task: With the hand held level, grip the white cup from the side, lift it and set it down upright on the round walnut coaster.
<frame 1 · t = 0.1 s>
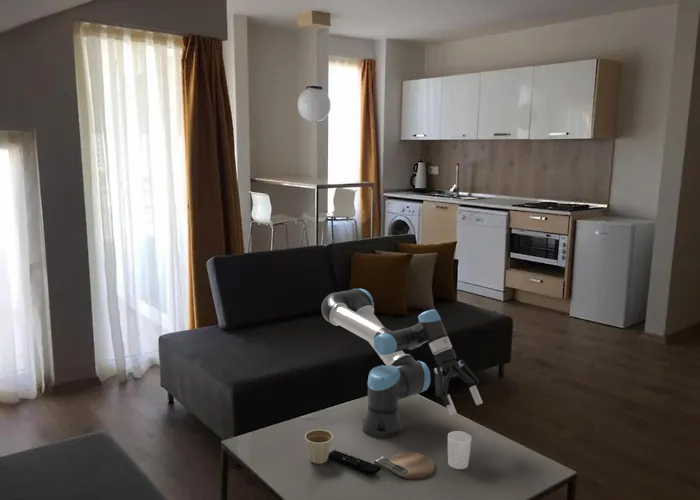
hand: (466, 409, 208), 15 cm above the table, tool tilted 35°, fingers open, 13 cm apart
walnut coaster: (411, 467, 199), on the table
white cup: (458, 464, 201), on the table
flower pot: (318, 460, 203), on the table
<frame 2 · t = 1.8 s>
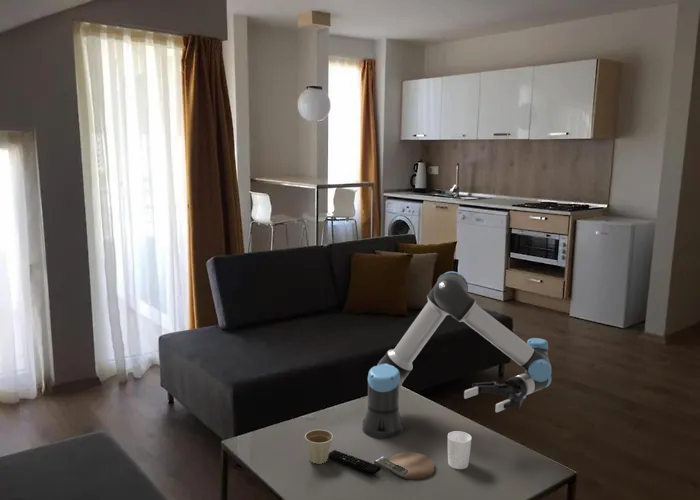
hand: (480, 401, 204), 20 cm above the table, tool horizontal, fingers open, 13 cm apart
nothing on the table moved.
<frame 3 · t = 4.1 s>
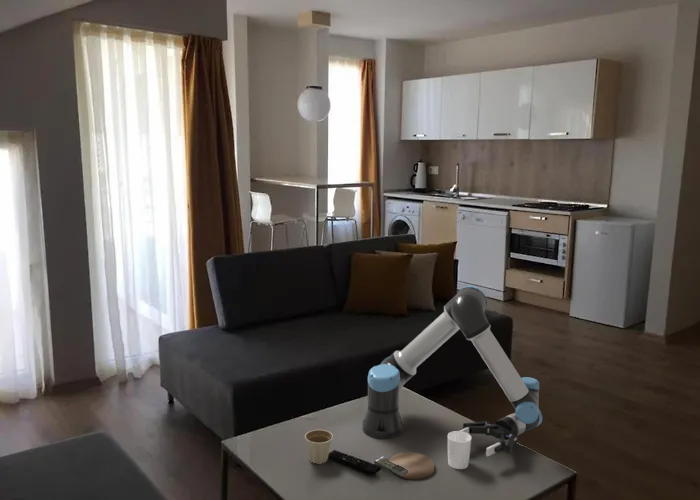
hand: (470, 444, 203), 6 cm above the table, tool horizontal, fingers open, 13 cm apart
nothing on the table moved.
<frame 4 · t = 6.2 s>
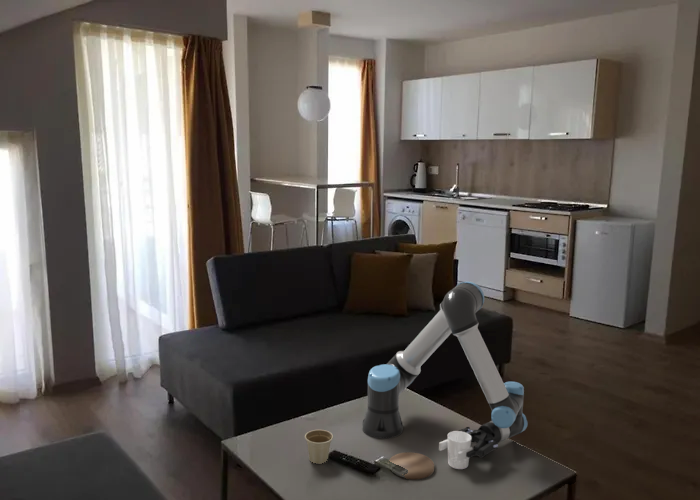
hand: (449, 451, 197), 6 cm above the table, tool horizontal, fingers closed on white cup, 8 cm apart
white cup: (458, 464, 201), on the table, touching gripper
everything else where it was.
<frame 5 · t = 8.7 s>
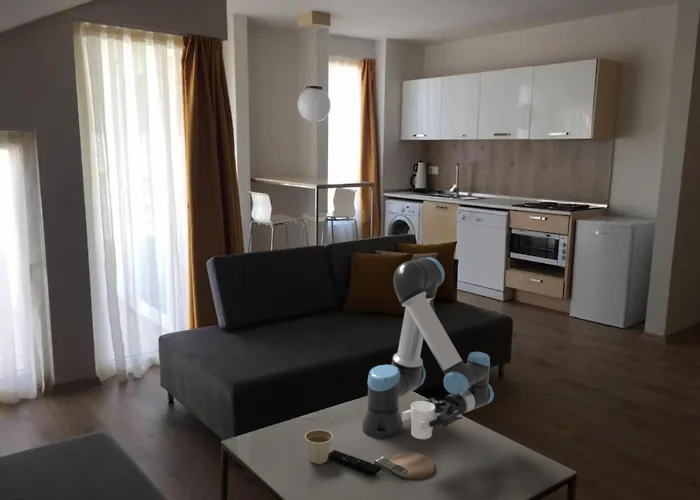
hand: (411, 421, 193), 18 cm above the table, tool horizontal, fingers closed on white cup, 8 cm apart
white cup: (421, 435, 197), point 12 cm above the table, touching gripper
everything else where it was.
when the fingers open (8 cm above the table, at t = 11.5 s): white cup drops 1 cm, resting on walnut coaster.
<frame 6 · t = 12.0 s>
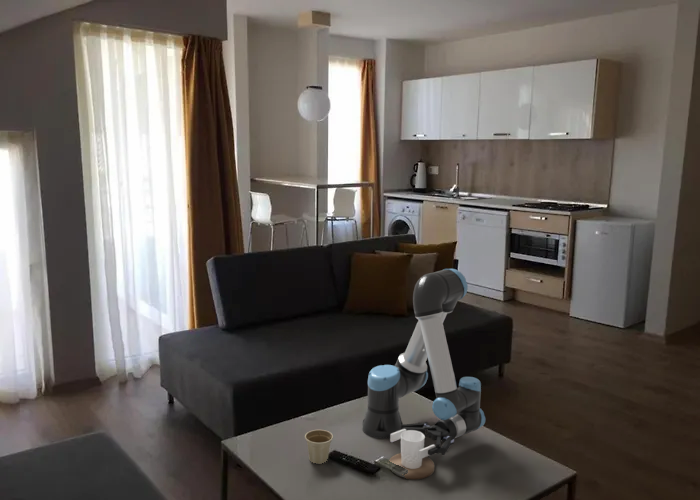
hand: (404, 446, 196), 8 cm above the table, tool horizontal, fingers open, 13 cm apart
white cup: (411, 464, 199), point 1 cm above the table, touching walnut coaster
everything else where it was.
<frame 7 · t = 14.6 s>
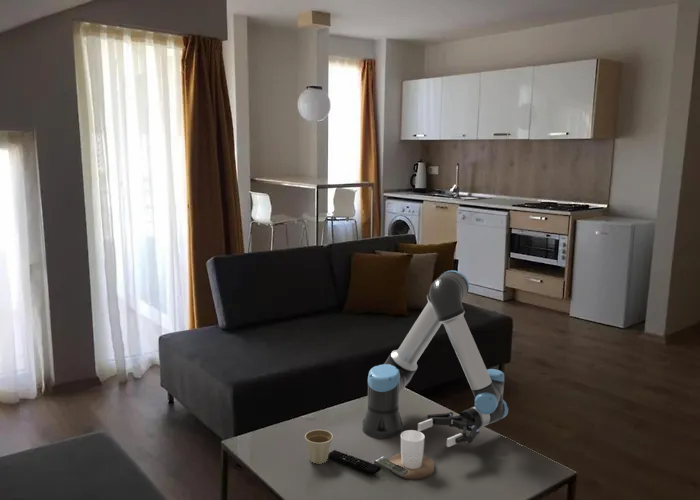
hand: (432, 434, 203), 9 cm above the table, tool horizontal, fingers open, 13 cm apart
nothing on the table moved.
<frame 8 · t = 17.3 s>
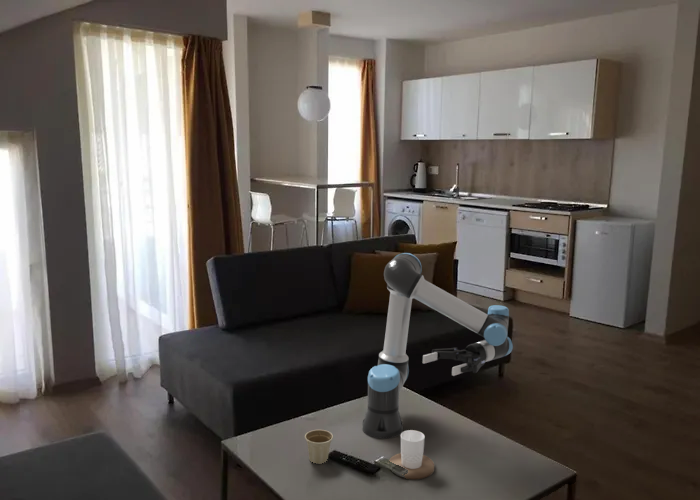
hand: (437, 365, 203), 32 cm above the table, tool horizontal, fingers open, 13 cm apart
nothing on the table moved.
at the end: white cup 0.1 cm from the walnut coaster (horizontally); white cup tilted 0°; the gripper is holding nothing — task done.
